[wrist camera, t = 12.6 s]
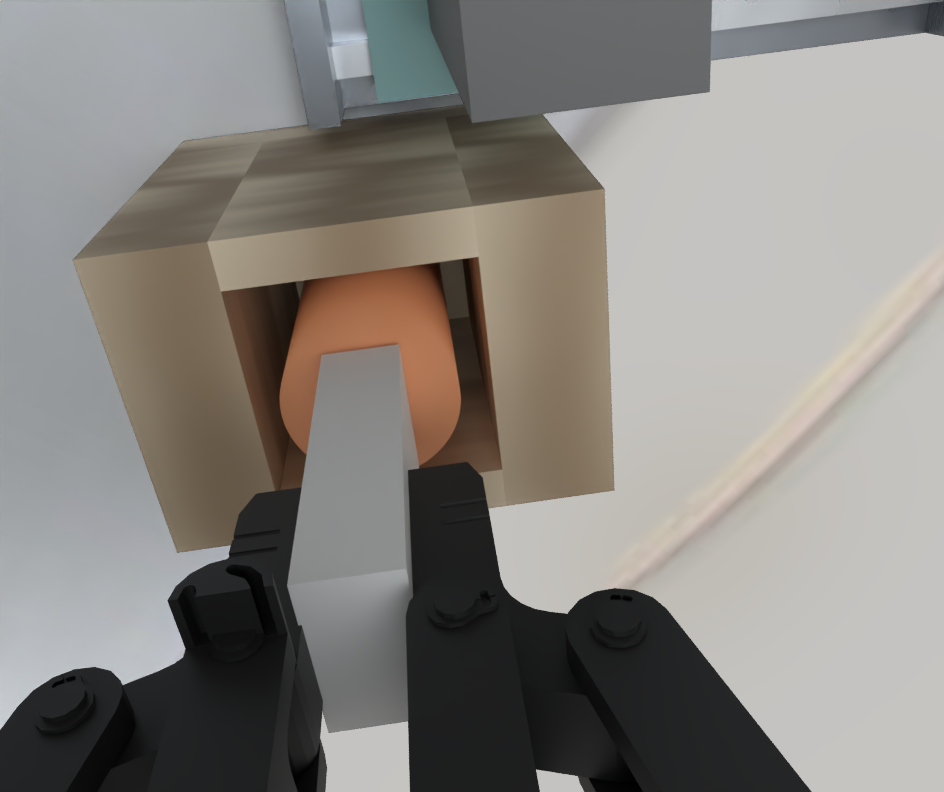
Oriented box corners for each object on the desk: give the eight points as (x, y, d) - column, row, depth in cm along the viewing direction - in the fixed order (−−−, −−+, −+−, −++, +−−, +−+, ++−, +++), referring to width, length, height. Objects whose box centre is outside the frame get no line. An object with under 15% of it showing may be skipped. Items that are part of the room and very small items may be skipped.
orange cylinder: (323, 331, 25) (300, 489, 18) (298, 211, 23) (261, 334, 16) (446, 313, 25) (470, 464, 18) (430, 193, 23) (449, 308, 16)
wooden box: (244, 367, 28) (181, 566, 19) (183, 141, 25) (72, 260, 16) (544, 326, 28) (614, 504, 20) (527, 96, 25) (604, 188, 16)
